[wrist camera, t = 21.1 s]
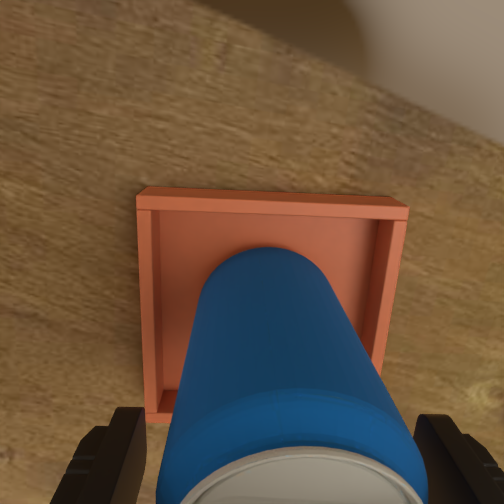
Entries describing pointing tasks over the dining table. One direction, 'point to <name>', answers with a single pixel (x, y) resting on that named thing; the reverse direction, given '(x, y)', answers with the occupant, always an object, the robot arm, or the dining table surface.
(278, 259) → the beverage can
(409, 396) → the dining table surface
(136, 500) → the robot arm
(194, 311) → the terracotta tray
